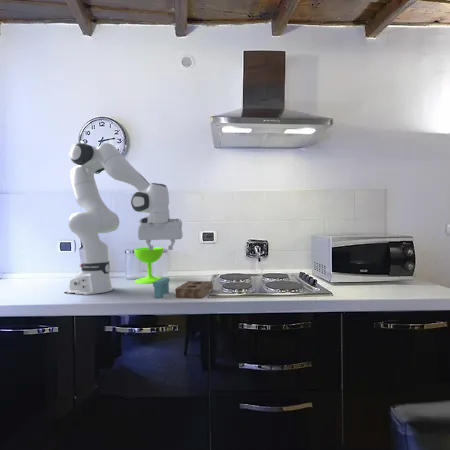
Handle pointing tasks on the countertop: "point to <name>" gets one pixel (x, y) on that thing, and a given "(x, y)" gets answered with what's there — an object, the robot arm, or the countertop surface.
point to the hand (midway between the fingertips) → (160, 249)
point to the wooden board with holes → (193, 289)
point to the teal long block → (161, 287)
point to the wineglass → (149, 258)
